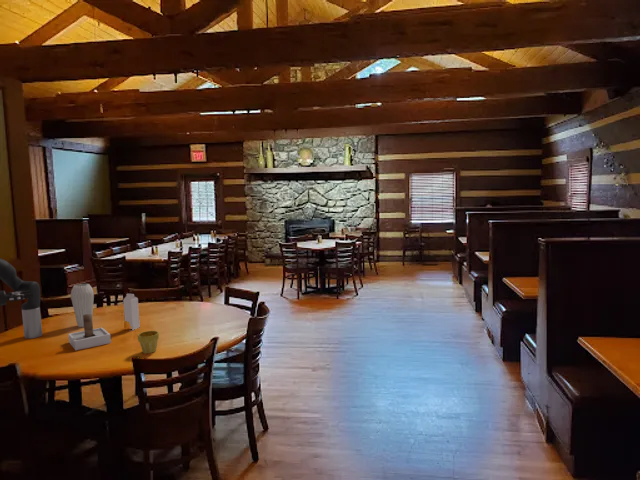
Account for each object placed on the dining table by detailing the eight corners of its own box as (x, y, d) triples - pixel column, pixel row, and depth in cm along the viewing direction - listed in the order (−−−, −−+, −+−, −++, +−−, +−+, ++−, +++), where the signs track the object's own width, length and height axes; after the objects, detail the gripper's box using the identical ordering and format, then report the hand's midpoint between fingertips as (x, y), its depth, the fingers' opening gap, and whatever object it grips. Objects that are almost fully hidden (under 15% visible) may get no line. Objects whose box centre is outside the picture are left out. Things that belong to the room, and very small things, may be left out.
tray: (69, 342, 268) (68, 333, 268) (102, 335, 279) (102, 327, 279) (75, 350, 254) (74, 341, 254) (110, 342, 265) (110, 334, 265)
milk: (132, 327, 296) (129, 292, 294) (140, 327, 294) (137, 293, 292) (125, 329, 290) (122, 294, 288) (133, 330, 288) (130, 295, 286)
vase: (68, 328, 298) (64, 287, 295) (83, 322, 311) (80, 282, 308) (86, 328, 294) (82, 287, 292) (100, 322, 307) (97, 283, 305)
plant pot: (142, 356, 242) (140, 337, 241) (136, 351, 250) (135, 333, 249) (162, 351, 248) (161, 333, 247) (156, 346, 256) (155, 329, 255)
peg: (85, 342, 268) (83, 314, 266) (94, 341, 270) (92, 313, 268) (85, 344, 264) (82, 316, 262) (93, 343, 266) (91, 315, 264)
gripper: (-6, 293, 233) (32, 288, 243) (-8, 289, 244) (29, 285, 254) (-4, 308, 234) (34, 303, 244) (-6, 303, 245) (30, 298, 255)
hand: (31, 293), depth 249 cm, fingers open, 8 cm apart
